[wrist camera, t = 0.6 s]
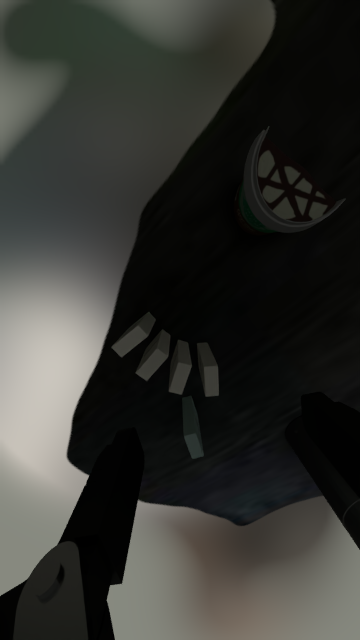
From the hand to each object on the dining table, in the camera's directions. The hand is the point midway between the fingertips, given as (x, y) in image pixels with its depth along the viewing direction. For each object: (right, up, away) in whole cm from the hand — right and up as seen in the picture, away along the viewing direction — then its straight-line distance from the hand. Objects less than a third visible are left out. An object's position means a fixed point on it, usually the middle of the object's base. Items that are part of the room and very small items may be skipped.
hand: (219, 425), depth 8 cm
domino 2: (-6, +1, +25) cm, 26 cm away
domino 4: (0, -13, +29) cm, 32 cm away
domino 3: (-2, -1, +26) cm, 26 cm away
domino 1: (-9, +4, +24) cm, 26 cm away
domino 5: (+3, -2, +26) cm, 26 cm away
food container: (+10, +21, +20) cm, 31 cm away
